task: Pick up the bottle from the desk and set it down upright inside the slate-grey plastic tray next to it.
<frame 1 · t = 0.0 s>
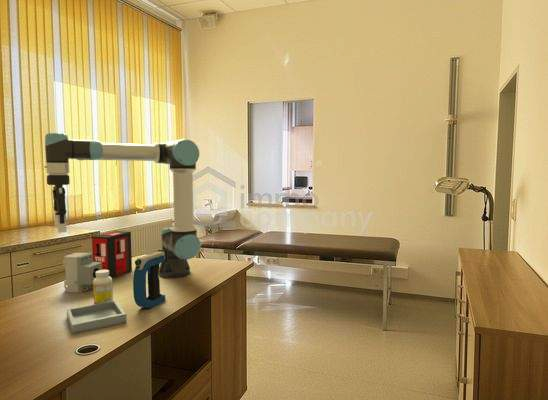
hand: (60, 229, 144), 28 cm above the table, tool pointing down, fingers open, 13 cm apart
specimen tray: (96, 320, 128), on the table
cleaning product box: (113, 274, 184), on the table
supplement bottle: (103, 304, 143), on the table
circuit breaker: (85, 290, 160), on the table
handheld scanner: (151, 305, 142), on the table
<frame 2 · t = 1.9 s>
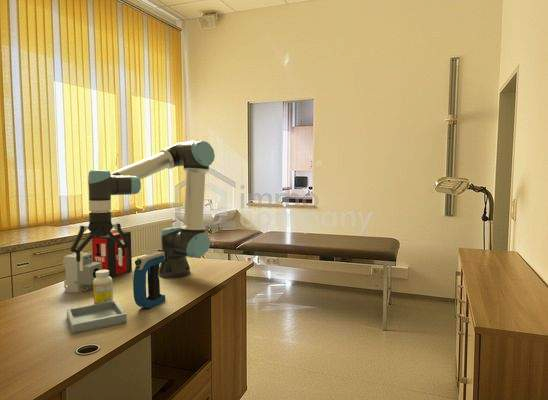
hand: (101, 267, 141), 14 cm above the table, tool pointing down, fingers open, 13 cm apart
nothing on the table moved.
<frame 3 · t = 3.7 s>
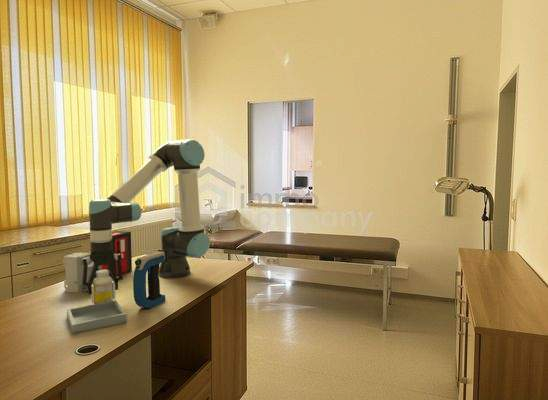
hand: (103, 300, 143), 2 cm above the table, tool pointing down, fingers closed on supplement bottle, 7 cm apart
supplement bottle: (103, 304, 143), on the table, touching gripper
everything else where it was.
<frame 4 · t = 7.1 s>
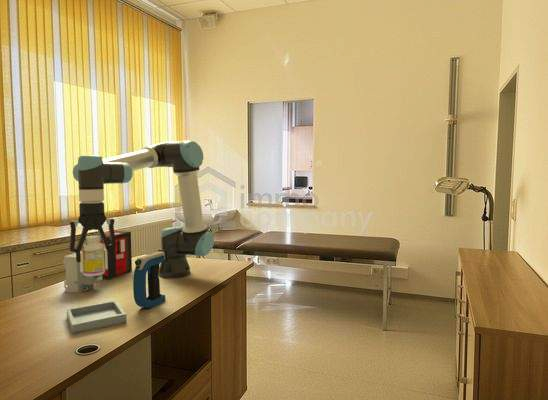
hand: (94, 269, 127), 17 cm above the table, tool pointing down, fingers closed on supplement bottle, 7 cm apart
supplement bottle: (94, 274, 127), point 16 cm above the table, touching gripper
everything else where it was.
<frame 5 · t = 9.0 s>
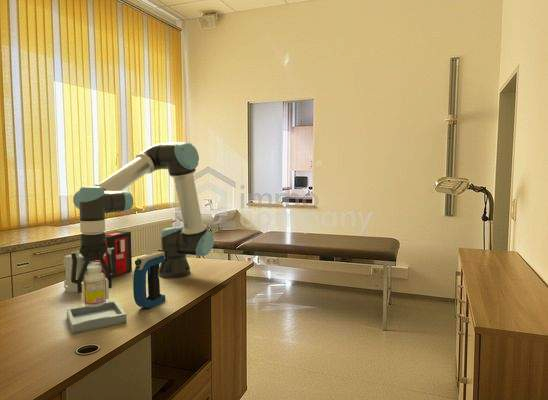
hand: (95, 299, 127), 7 cm above the table, tool pointing down, fingers closed on supplement bottle, 7 cm apart
supplement bottle: (95, 304, 127), point 5 cm above the table, touching gripper
everything else where it was.
when the fingers open (4 cm above the table, at t = 10.5 s): supplement bottle drops 1 cm, resting on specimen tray.
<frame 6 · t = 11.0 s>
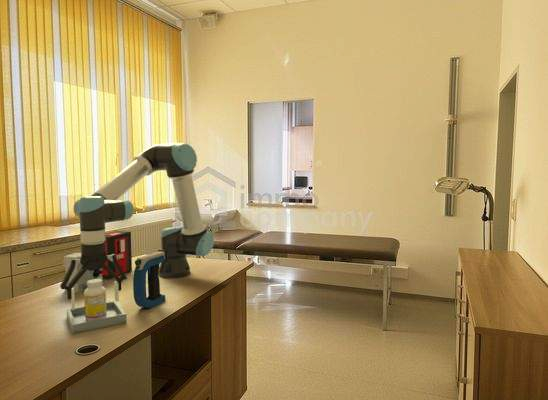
hand: (95, 304, 127), 5 cm above the table, tool pointing down, fingers open, 13 cm apart
supplement bottle: (96, 318, 128), point 1 cm above the table, touching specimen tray
everything else where it was.
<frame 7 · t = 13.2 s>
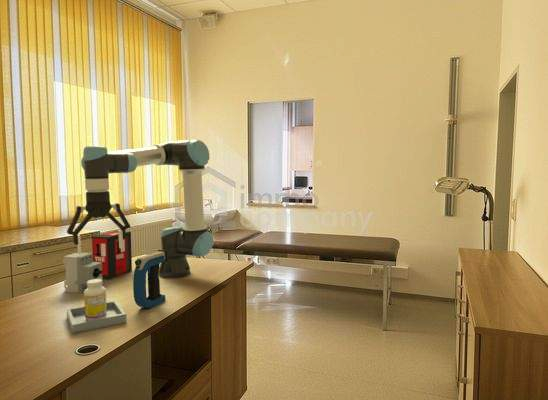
hand: (101, 250, 133), 22 cm above the table, tool pointing down, fingers open, 13 cm apart
nothing on the table moved.
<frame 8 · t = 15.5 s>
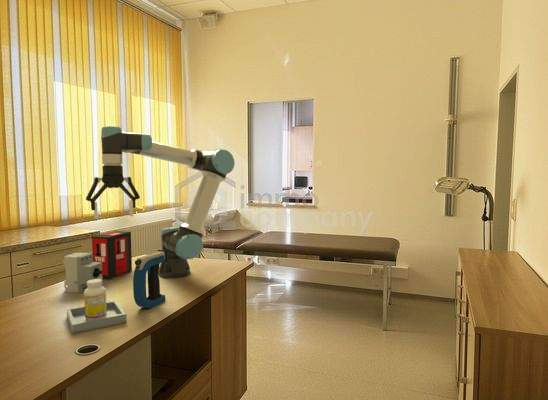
hand: (114, 217, 153), 32 cm above the table, tool pointing down, fingers open, 13 cm apart
nothing on the table moved.
at the end: supplement bottle inside the target area on the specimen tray (0.1 cm from its centre), point 0.6 cm above the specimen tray's base; supplement bottle tilted 0°; the gripper is holding nothing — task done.
